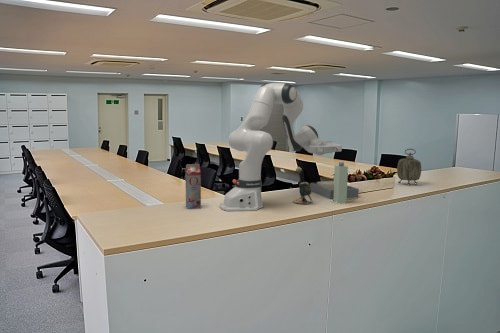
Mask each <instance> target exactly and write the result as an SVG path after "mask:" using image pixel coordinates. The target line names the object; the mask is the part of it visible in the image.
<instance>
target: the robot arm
mask: <svg viewBox="0 0 500 333" xmlns="http://www.w3.org/2000/svg"><path fill="white" fill-rule="evenodd" d="M274 104H275V105H282V107H283V115H282V123H283V128H284V133H285V136H286V143H287V146H288V148H289V149H290V151H292V152H300V151H301V150H302V149H304V150H305V151H307V152H308V153H310V154H315V155H318V156H323V155H326V154H331V153H332V154H333V153H337V152H342V150H343V146H342V144H340V143H336V142H334V141H330V140H329V141H327V140H321V139H319V133H318V131H317V130H316V129H315V127H314V126H311V125H309V124H306V125H304V126H302V127H300V129H299V130H297V131H296V132H295V130H294V123H296V120H297V119H298V117H299V116H300V115H301V114H302V112H303V110H304V103H303V100H302V97H301V95H300V92H299V91H298V90H297V88H296V86H295V85H294V84H293V83H288V82H287V83H282V82H272V83H268V82H267V83H263V84H261V86H260V87H259V88H258V89H257V91H256V93H255V95H254V97H253V100H252V102H251V104H250V108H249V110H248V112H247V115H246V117H245V118H244V121H243V122H242V123H241V124H240V126H239V127H237V128H236V129H235V130H234V131H233V130H232V131H231V132H230V134H229V137H228V145H229V146H230V148H231V149H232V150H236V151H239V152H246V155H245V158H244V159H243V160H242V161H240V163H239V165H238V179H232V183H233V184H234V187H233V188H232V189H230V190H229V191H228V192H226V193H225V195H224V199H223V202H222V203H219V208H220V209H221V210H222V211H227V212H235V211H236V212H237V211H238V212H242V211H249V212H250V211H258V210H259V209H262V208H263V207H264V204H263V198H262V187H263V186H262V179H261V176H262V175H261V174H262V173H261V172H262V164H263V161H264V158H265V156H266V154H267V153H269V152H270V150H271V149H272V148H273V144H274V140H273V136H272V135H271V133H269V132H266V131H263V130H261V129H262V128H264V127H265V126H267V125H268V124H269V121H270V118H271V115H272V112H273V109H274Z"/></svg>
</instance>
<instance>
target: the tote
mask: <svg viewBox="0 0 500 333" xmlns="http://www.w3.org/2000/svg"><path fill="white" fill-rule="evenodd" d="M316 183H317V182H310V183H309V185H310V187H311V193H314V194H316V195H318V196H321V197H324V198H326V199H329V200H333V198H334V190H330V189H327V188H324V187H322V186H319V185H316ZM359 191H360V190H359V188H358V187H354V186H350V185H349V184H347V199H356V200H359V195H360V194H359ZM347 199H346V201H348V200H347Z"/></svg>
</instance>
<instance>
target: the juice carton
mask: <svg viewBox="0 0 500 333" xmlns="http://www.w3.org/2000/svg"><path fill="white" fill-rule="evenodd" d="M200 166H201V165H200V163H192V164H190V163H189V164H188V163H187V164H186V165H185V207H186V209H187V210H195V209H196V210H199V209H200V210H201V209H202V193H201V192H202V189H201V188H202V182H201V181H202V178H201V176H202V175H201V173H202V171H201V167H200Z"/></svg>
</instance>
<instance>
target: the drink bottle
mask: <svg viewBox="0 0 500 333" xmlns="http://www.w3.org/2000/svg"><path fill="white" fill-rule="evenodd" d="M348 171H349V167H348V166H347V165H345V162H343V161H339V162H338V165H334V176H333V179H334V180H333V181H334V198H333V199H332V200H333V201H334V202H333V201H332V202H333V203H335V202H337V203H345V204H347V200H346V199H348V198H347V185H348V178H349V177H348ZM337 203H336V204H337Z"/></svg>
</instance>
